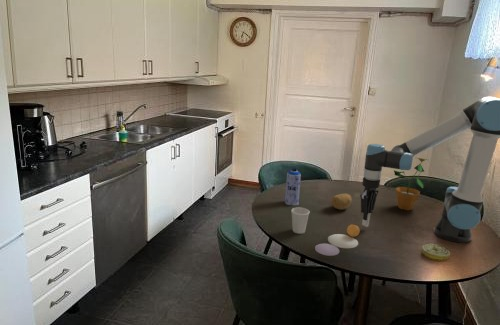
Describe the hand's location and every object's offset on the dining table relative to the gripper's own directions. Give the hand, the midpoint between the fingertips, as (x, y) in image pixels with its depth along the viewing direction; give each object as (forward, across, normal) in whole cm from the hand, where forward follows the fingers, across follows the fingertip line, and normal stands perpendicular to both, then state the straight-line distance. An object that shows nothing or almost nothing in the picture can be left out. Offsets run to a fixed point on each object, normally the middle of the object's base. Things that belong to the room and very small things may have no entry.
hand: (365, 225), depth 175 cm
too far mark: (+2, +31, 0) cm, 31 cm away
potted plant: (+2, -44, 0) cm, 44 cm away
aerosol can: (+2, +1, -44) cm, 44 cm away
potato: (+2, -14, -22) cm, 26 cm away
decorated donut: (+2, 0, +32) cm, 32 cm away
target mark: (+2, +19, 0) cm, 19 cm away
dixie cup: (+2, +26, -19) cm, 32 cm away
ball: (-1, +11, 0) cm, 11 cm away
